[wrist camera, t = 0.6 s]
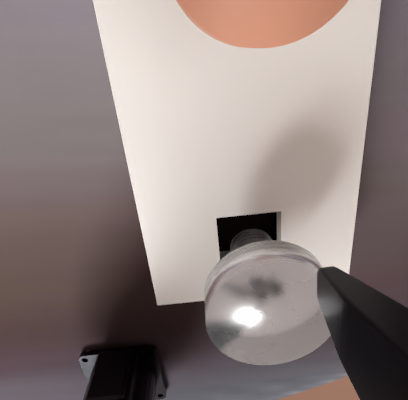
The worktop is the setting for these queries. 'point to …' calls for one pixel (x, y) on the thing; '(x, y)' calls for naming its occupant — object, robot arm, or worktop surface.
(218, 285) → the plug
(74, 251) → the worktop surface
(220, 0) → the terracotta plug
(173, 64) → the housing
